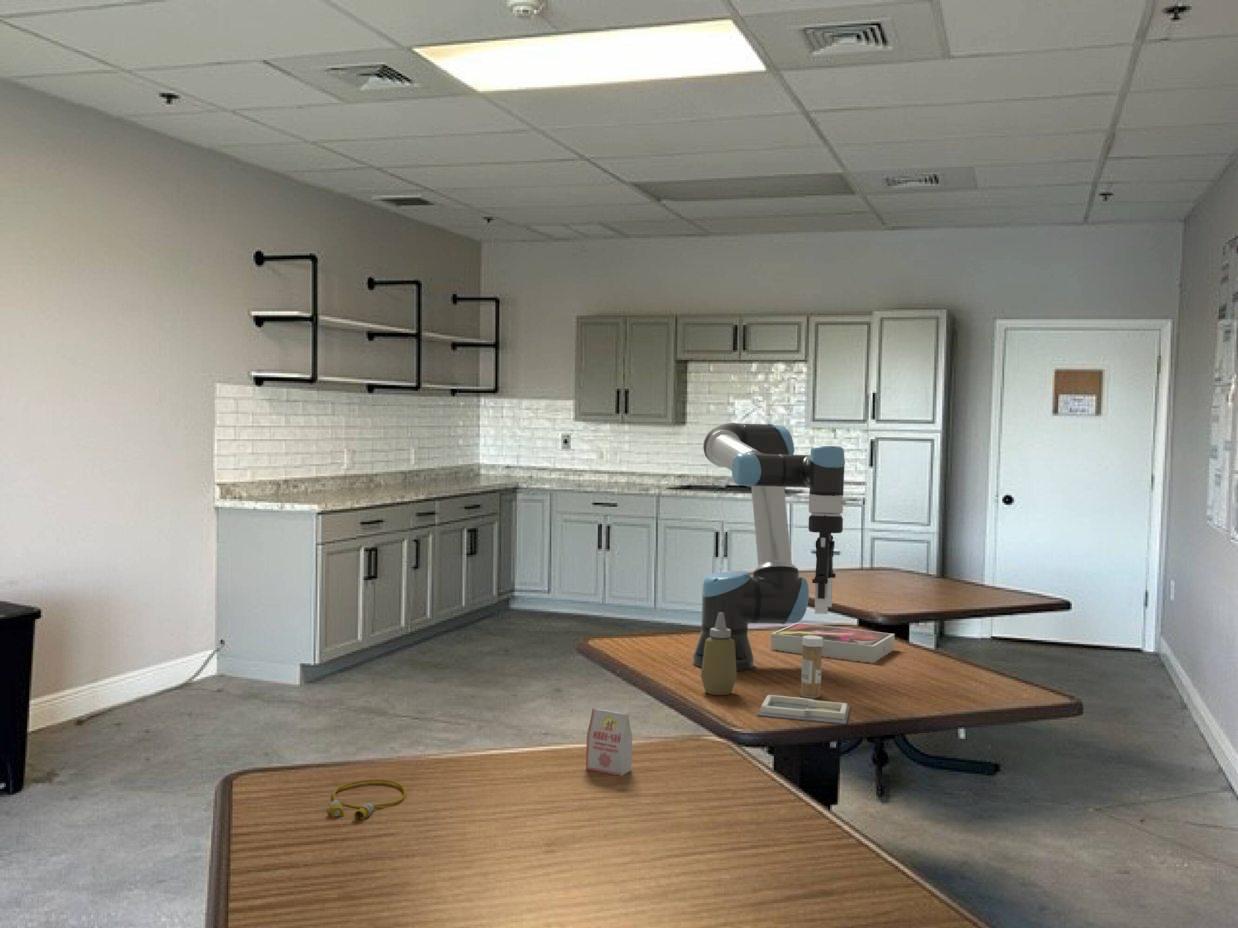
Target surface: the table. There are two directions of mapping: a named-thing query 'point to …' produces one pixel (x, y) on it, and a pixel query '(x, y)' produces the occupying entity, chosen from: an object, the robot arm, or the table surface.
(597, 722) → the white paper bag
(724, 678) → the squeeze bottle
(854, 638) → the product packaging
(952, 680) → the table surface
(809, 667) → the sprinkles bottle
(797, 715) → the keyhole track
